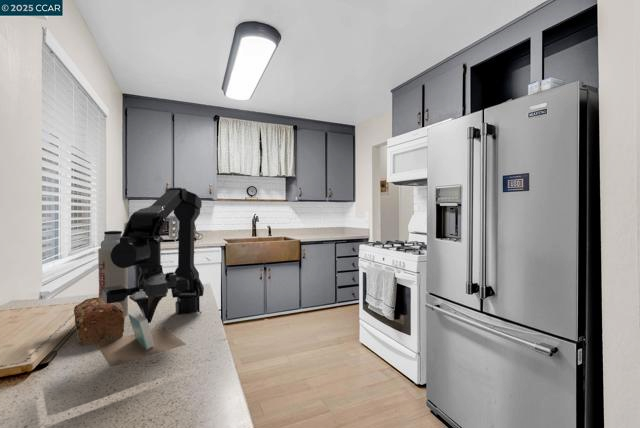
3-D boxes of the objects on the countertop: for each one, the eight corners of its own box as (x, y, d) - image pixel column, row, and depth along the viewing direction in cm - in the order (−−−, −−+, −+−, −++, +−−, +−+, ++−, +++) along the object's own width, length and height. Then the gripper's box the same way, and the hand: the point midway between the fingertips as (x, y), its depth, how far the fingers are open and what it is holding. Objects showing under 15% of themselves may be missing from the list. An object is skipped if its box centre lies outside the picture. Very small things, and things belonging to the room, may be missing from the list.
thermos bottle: (102, 322, 98) (101, 232, 98) (96, 316, 103) (95, 231, 103) (131, 315, 104) (130, 230, 104) (123, 310, 109) (123, 229, 109)
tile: (143, 335, 83) (136, 310, 82) (154, 345, 77) (147, 319, 76) (135, 338, 82) (128, 314, 81) (146, 349, 75) (138, 323, 74)
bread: (125, 341, 84) (125, 304, 84) (74, 353, 77) (74, 312, 77) (116, 322, 98) (116, 290, 98) (73, 330, 92) (73, 296, 91)
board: (164, 331, 90) (163, 327, 90) (186, 348, 79) (186, 343, 79) (96, 348, 79) (96, 344, 79) (110, 371, 67) (110, 366, 67)
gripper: (112, 270, 67) (112, 342, 67) (197, 260, 81) (198, 321, 81) (101, 264, 75) (101, 329, 75) (180, 256, 88) (181, 311, 89)
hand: (148, 322), depth 80 cm, fingers closed
